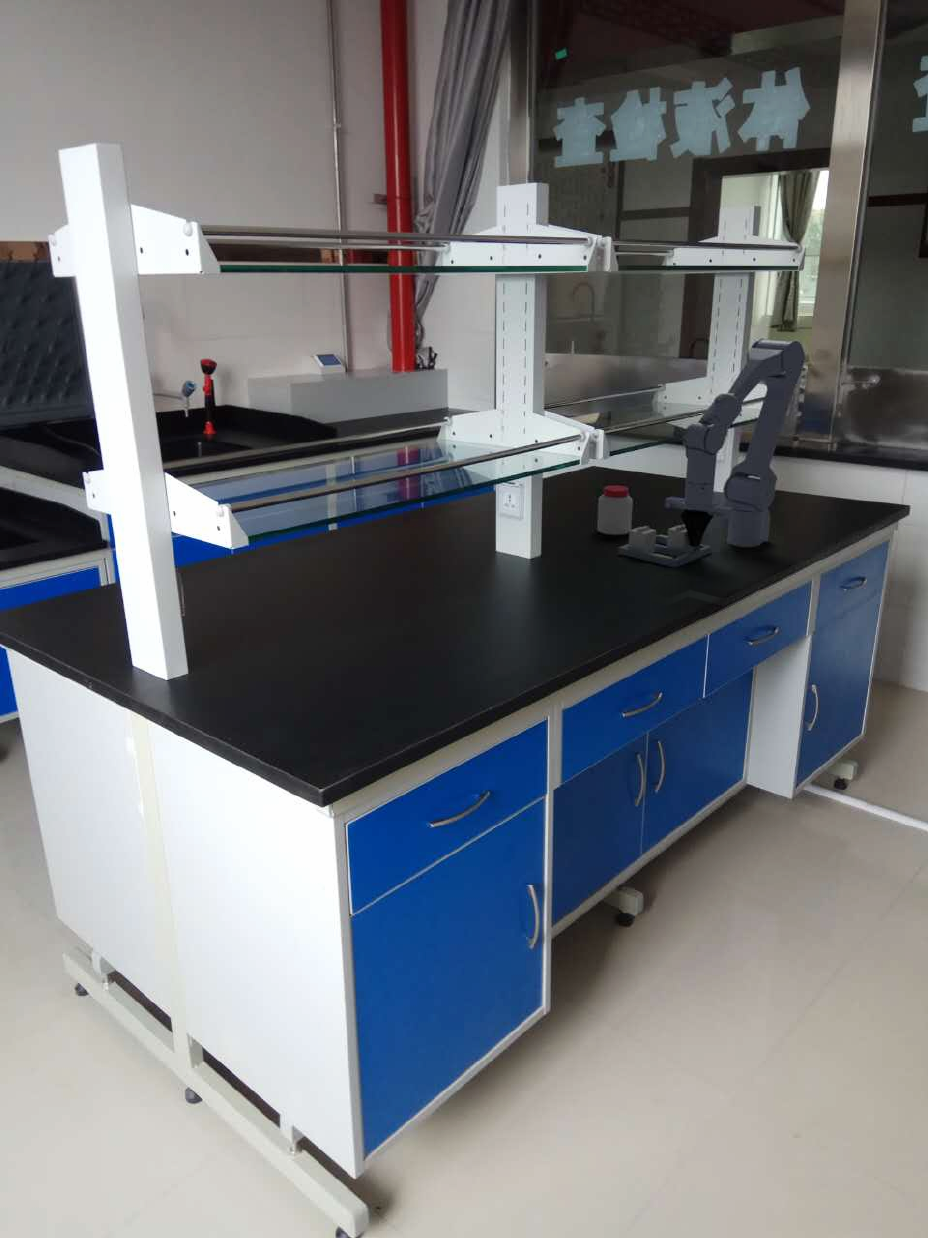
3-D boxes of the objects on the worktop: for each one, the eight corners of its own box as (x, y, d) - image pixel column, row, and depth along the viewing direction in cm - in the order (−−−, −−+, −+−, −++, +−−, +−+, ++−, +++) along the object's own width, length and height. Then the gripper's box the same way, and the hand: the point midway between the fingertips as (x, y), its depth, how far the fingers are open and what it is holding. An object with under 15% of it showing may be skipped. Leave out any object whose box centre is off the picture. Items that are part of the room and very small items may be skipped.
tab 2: (676, 547, 201) (678, 522, 199) (692, 551, 199) (694, 525, 197) (666, 551, 198) (668, 526, 196) (682, 555, 196) (684, 529, 194)
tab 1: (639, 549, 200) (640, 524, 198) (654, 552, 198) (656, 527, 196) (628, 553, 198) (629, 527, 196) (644, 556, 195) (645, 531, 193)
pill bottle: (630, 539, 211) (632, 492, 207) (596, 538, 213) (598, 491, 209) (631, 530, 218) (633, 484, 214) (598, 529, 220) (600, 483, 216)
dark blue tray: (638, 541, 210) (638, 529, 209) (712, 558, 197) (714, 545, 197) (600, 554, 201) (601, 542, 200) (676, 573, 188) (677, 560, 187)
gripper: (659, 479, 193) (654, 542, 198) (721, 490, 183) (715, 556, 188) (677, 474, 197) (672, 536, 202) (739, 484, 188) (733, 549, 193)
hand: (694, 545), depth 195 cm, fingers closed
